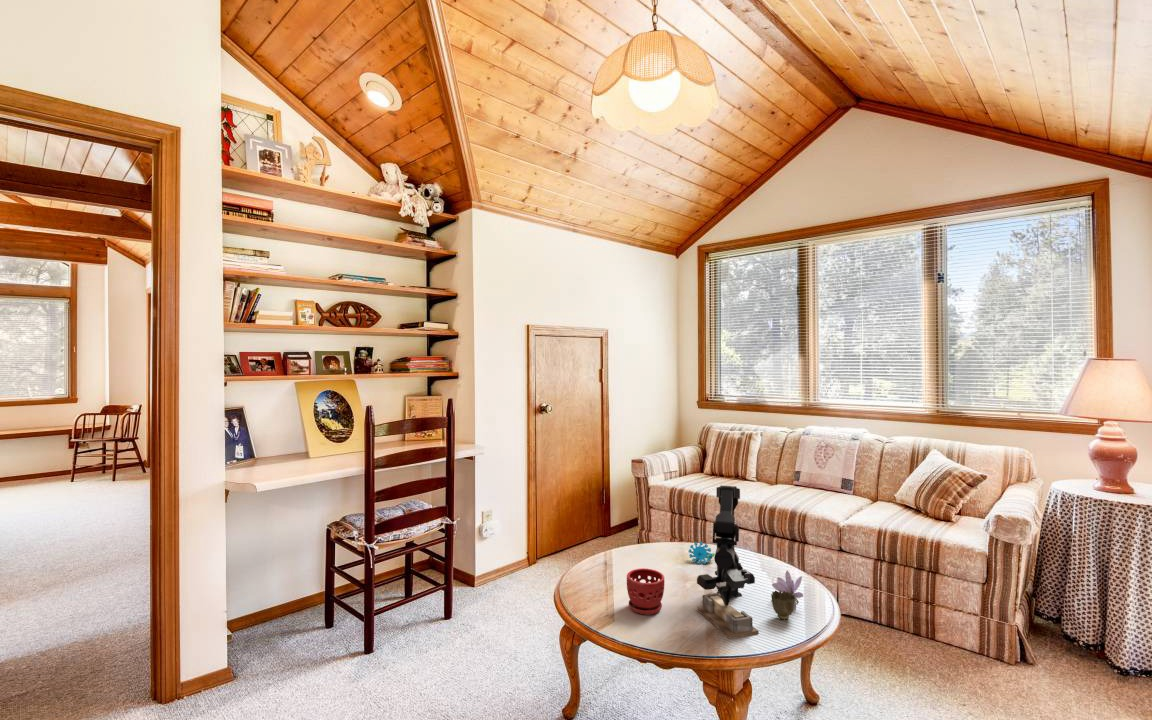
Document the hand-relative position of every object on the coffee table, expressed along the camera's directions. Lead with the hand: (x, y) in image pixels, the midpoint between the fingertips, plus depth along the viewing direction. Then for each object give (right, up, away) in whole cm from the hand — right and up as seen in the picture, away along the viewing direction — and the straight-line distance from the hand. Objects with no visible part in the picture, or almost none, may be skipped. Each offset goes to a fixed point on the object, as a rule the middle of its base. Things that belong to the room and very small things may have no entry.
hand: (726, 605), depth 179 cm
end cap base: (0, -5, 0) cm, 5 cm away
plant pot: (-26, -6, +9) cm, 28 cm away
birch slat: (0, -4, 0) cm, 4 cm away
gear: (+5, -7, +55) cm, 56 cm away
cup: (+19, -5, +1) cm, 20 cm away
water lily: (+25, -6, +12) cm, 28 cm away
